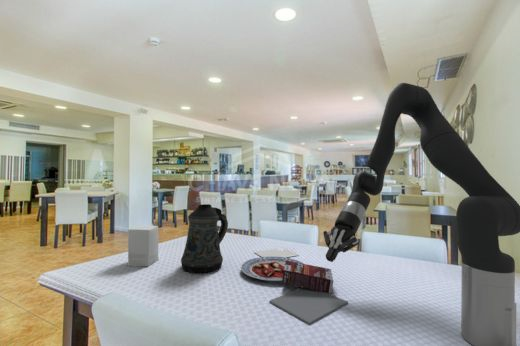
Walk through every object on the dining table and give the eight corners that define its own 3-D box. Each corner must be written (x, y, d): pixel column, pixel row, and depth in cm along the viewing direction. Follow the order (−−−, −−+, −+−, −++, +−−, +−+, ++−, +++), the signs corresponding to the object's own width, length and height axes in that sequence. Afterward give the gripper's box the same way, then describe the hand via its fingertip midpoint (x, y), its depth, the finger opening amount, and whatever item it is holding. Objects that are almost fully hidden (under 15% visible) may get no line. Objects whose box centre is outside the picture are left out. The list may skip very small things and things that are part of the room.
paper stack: (244, 248, 136) (245, 247, 136) (285, 242, 148) (285, 241, 148) (267, 262, 116) (267, 260, 116) (313, 254, 127) (313, 252, 127)
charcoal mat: (347, 303, 78) (347, 301, 78) (309, 324, 67) (309, 322, 67) (308, 286, 90) (308, 285, 90) (269, 302, 78) (269, 300, 78)
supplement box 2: (159, 259, 116) (159, 225, 116) (148, 267, 107) (148, 229, 107) (139, 259, 117) (139, 224, 117) (127, 266, 108) (127, 229, 108)
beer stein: (172, 271, 102) (172, 206, 102) (198, 256, 121) (198, 201, 121) (210, 276, 97) (211, 208, 97) (232, 260, 116) (232, 203, 116)
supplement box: (333, 279, 83) (283, 270, 86) (331, 294, 84) (281, 284, 86) (331, 268, 92) (285, 259, 94) (329, 281, 92) (283, 272, 95)
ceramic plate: (249, 290, 87) (249, 281, 87) (235, 264, 112) (235, 257, 112) (320, 282, 94) (320, 273, 94) (292, 259, 119) (292, 252, 119)
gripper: (329, 208, 95) (307, 248, 87) (364, 212, 85) (342, 258, 77) (338, 221, 98) (317, 261, 91) (372, 227, 88) (352, 272, 80)
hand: (329, 260), depth 84 cm, fingers closed
